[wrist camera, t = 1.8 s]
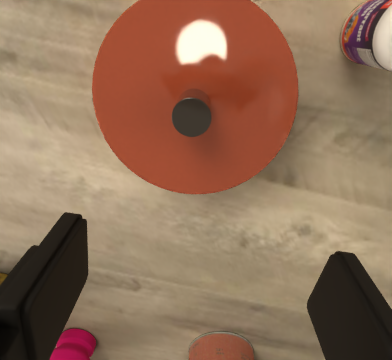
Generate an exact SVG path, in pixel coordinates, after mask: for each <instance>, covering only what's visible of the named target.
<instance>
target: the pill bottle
mask: <svg viewBox="0 0 392 360" xmlns="http://www.w3.org/2000/svg"><path fill="white" fill-rule="evenodd" d="M340 45H341V49H342V51H343V53H344V55H345V56H346V57H347V58H348V59H349V60H351V61H353V62H355V63H358V64H362V65H366V66H370V67H375V68H379V69H384V70H388V71H392V0H369V1H366V2H364V3H362V4H361V5H359V6H358V7H357V8H355V9H354V10H353V11H352V12H351V13H350V15H349V16H348V17H347V19H346V21H345V23H344V25H343V27H342V30H341V35H340Z"/></svg>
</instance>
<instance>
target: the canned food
mask: <svg viewBox="0 0 392 360" xmlns="http://www.w3.org/2000/svg"><path fill="white" fill-rule="evenodd" d="M189 360H254V351H253V347H252V345H251V344H250V342H249V341H248V340H246V339H245V338H243V337H242V336H240V335H237V334H234V333H230V332H211V333H207V334H204V335H201V336H199V337H198V338H196V339H195V340H194V341H193V342H192V343H191V345H190V347H189Z"/></svg>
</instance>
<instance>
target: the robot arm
mask: <svg viewBox="0 0 392 360" xmlns="http://www.w3.org/2000/svg"><path fill="white" fill-rule="evenodd" d="M87 276H88V246H87V221H86V219H82V215H80V214H74V213H67V212H65V213H64V214H63V215H62V216H61V217H60V219H59V220H58V221H57V223H56V224H55V225H54V226H53V228H52V229H51V230H50V232H49V233H48V234H47V236H46V237H45V238H44V240H43V241H42V242H41V243H40V245H39V246H36V245H34V246H32V247H31V248H30V249H29V250H28V251H27V252H26V253H25V255H24V256H23V257H22V258H21V260H20V261H19V262H18V263H17V265H16V266H15V267H14V268H13V270H12V271H11V272H10V273H9V275H8V276H7V277H6V278H5V280H4V281H3V282H2V283H1V285H0V360H49V359H50V357H51V355H52V353H53V350H54V348H55V346H56V344H57V342H58V340H59V338H60V336H61V333H62V331H63V329H64V327H65V325H66V323H67V321H68V319H69V316H70V314H71V312H72V310H73V308H74V306H75V304H76V302H77V299H78V297H79V295H80V293H81V291H82V289H83V287H84V285H85V282H86V280H87ZM307 309H308V313H309V315H310V318H311V321H312V324H313V326H314V329H315V332H316V335H317V337H318V340H319V343H320V346H321V348H322V351H323V354H324V357H325V359H326V360H392V309H391V308H390V306H389V305H388V303H387V302H386V300H385V299H384V297H383V296H382V294H381V293H380V291H379V290H378V288H377V287H376V285H375V284H374V282H373V281H372V279H371V278H370V276H369V275H368V273H367V272H366V270H365V269H364V267H363V266H362V264H361V263H360V261H359V260H358V258H357V257H356V255H355V254H353V253H348V252H341V251H337V252H335V254H332V255H331V256H330V257H329V259H328V261H327V263H326V265H325V267H324V269H323V271H322V273H321V275H320V277H319V279H318V281H317V283H316V285H315V287H314V289H313V291H312V293H311V295H310V297H309V299H308V302H307Z"/></svg>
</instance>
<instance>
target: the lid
mask: <svg viewBox="0 0 392 360" xmlns="http://www.w3.org/2000/svg"><path fill="white" fill-rule="evenodd" d="M92 93H93V104H94V109H95V114H96V118H97V121H98V124H99V127H100V129H101V131H102V133H103V135H104V138H105V140H106V141H107V143H108V144H109V146H110V148H111V149H112V151H113V152H114V153H115V154H116V156H117V157H118V158H119V159H120V161H121V162H122V163H124V164H125V165H126V166H127V167H128V168H129V169H130V170H131V171H132V172H134V173H135V174H136V175H138V176H139V177H141V178H142V179H144V180H146V181H147V182H149V183H151V184H153V185H155V186H158V187H160V188H163V189H166V190H169V191H174V192H178V193H185V194H208V193H215V192H219V191H223V190H227V189H230V188H232V187H235V186H237V185H239V184H241V183H243V182H245V181H247V180H249V179H250V178H252V177H253V176H255V175H256V174H258V173H259V172H260V171H261V170H262V169H263V168H265V167H266V166H267V165H268V164H269V163H270V162H271V160H272V159H273V158H274V157H275V156H276V155H277V153H278V152H279V150H280V149H281V148H282V146H283V144H284V142H285V141H286V139H287V137H288V135H289V133H290V130H291V127H292V125H293V122H294V118H295V114H296V110H297V103H298V77H297V70H296V65H295V62H294V58H293V55H292V52H291V50H290V48H289V45H288V43H287V41H286V39H285V37H284V36H283V34H282V32H281V31H280V29H279V28H278V26H277V25H276V24H275V23H274V21H273V20H272V19H271V18H270V17H269V16H268V14H266V13H265V12H264V11H263V10H262V9H261V8H260V7H258V6H257V5H256V4H255V3H253V2H252V1H250V0H138V1H137V2H136V3H134V4H133V5H132V6H131V7H129V8H128V9H127V10H126V11H125V12H124V13H123V14H122V15H121V16H120V17H119V18H118V19H117V20H116V21H115V23H114V24H113V26H112V27H111V28H110V30H109V31H108V33H107V34H106V36H105V38H104V40H103V43H102V45H101V47H100V49H99V52H98V55H97V58H96V61H95V67H94V72H93V83H92Z"/></svg>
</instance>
